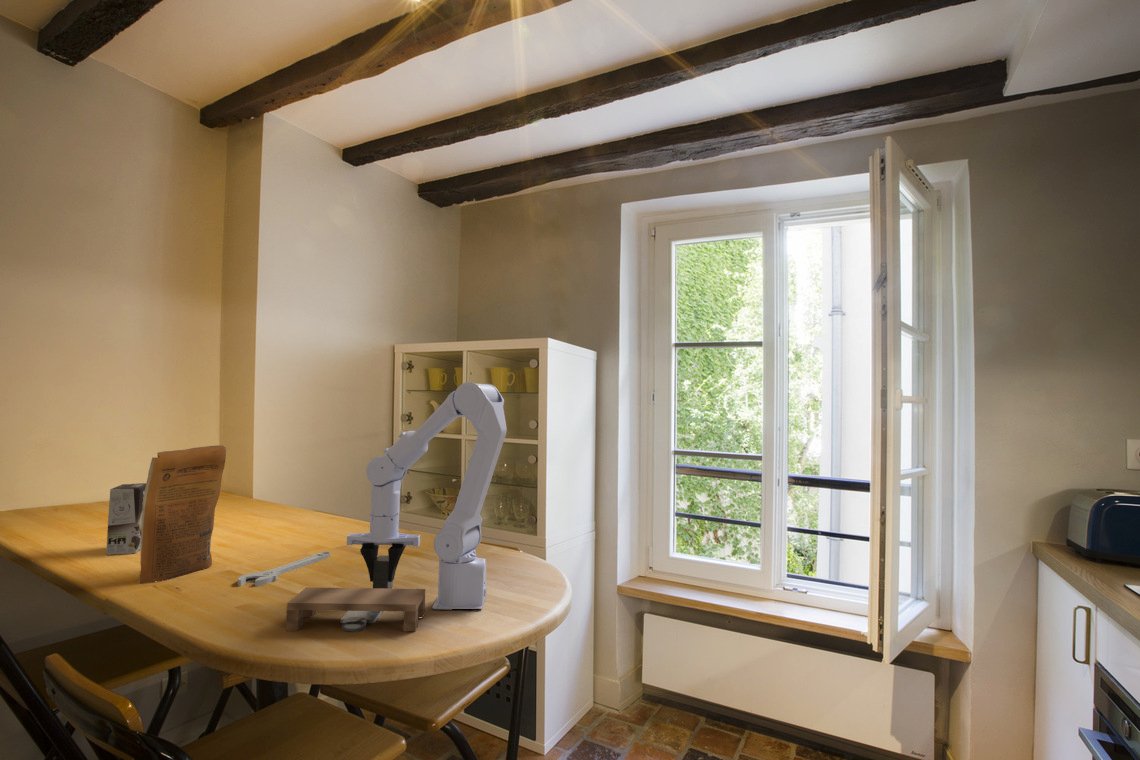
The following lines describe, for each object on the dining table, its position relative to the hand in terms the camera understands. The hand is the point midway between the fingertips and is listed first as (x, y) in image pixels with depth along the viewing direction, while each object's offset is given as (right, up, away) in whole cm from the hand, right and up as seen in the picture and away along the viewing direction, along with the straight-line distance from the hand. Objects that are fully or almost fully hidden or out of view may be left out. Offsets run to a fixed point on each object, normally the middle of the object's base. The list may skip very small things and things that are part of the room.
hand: (382, 580), depth 117 cm
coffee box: (-72, -2, +25) cm, 77 cm away
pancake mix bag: (-48, -2, +9) cm, 48 cm away
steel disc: (+1, -2, -17) cm, 18 cm away
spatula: (0, -2, -6) cm, 7 cm away
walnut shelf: (+1, -2, -15) cm, 15 cm away
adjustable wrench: (-25, -3, +13) cm, 29 cm away
